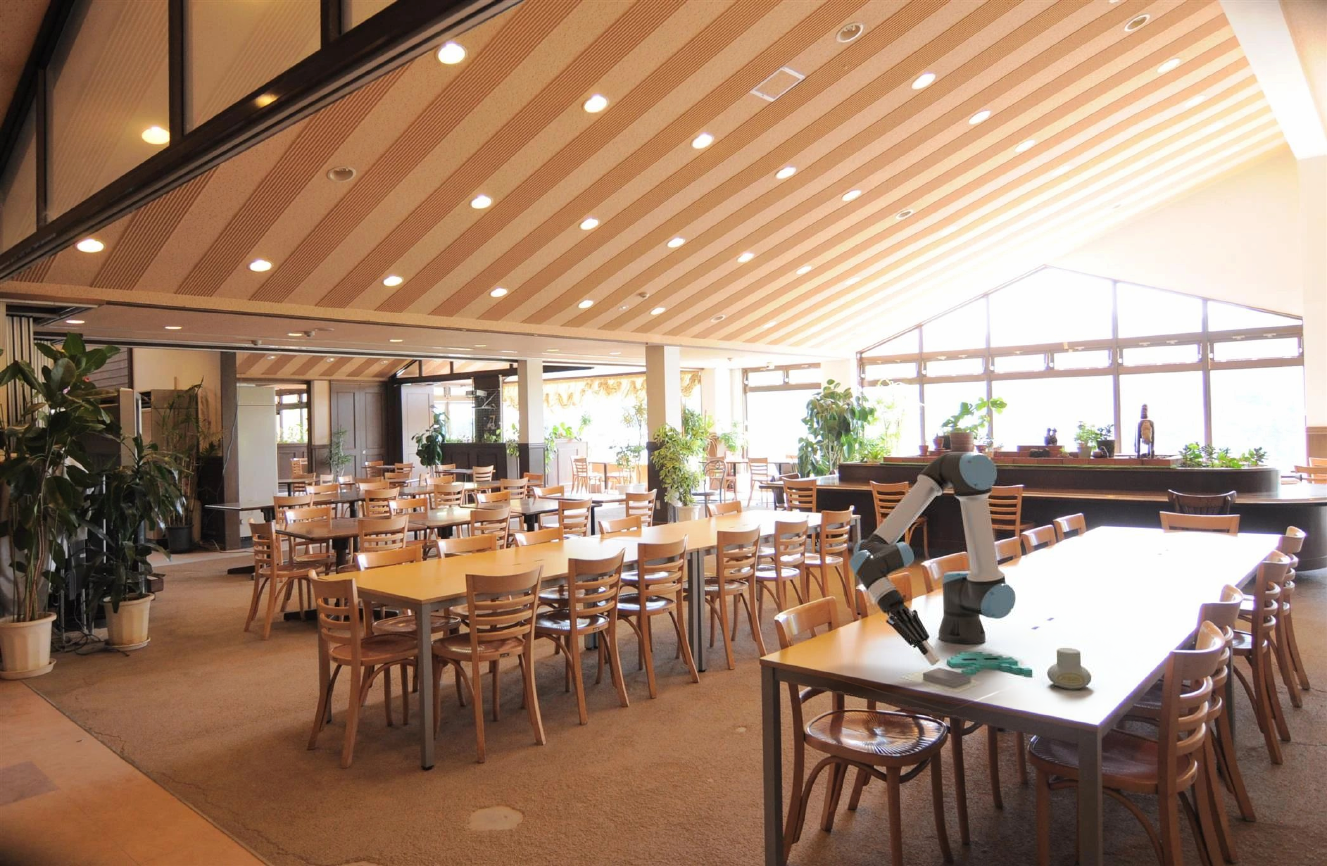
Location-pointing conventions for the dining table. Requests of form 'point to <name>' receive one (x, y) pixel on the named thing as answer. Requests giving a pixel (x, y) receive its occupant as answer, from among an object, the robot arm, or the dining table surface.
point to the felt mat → (919, 678)
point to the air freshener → (1069, 670)
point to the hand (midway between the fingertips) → (935, 662)
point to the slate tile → (946, 677)
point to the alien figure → (986, 663)
